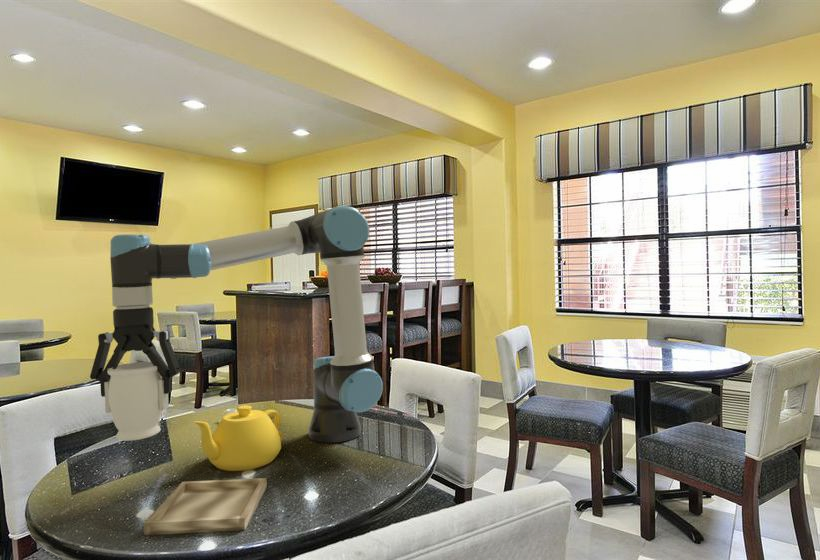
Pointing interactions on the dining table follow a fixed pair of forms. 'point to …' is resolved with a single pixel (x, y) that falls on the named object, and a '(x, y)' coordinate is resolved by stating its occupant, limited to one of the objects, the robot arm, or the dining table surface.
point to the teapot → (242, 439)
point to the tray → (207, 507)
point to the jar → (135, 400)
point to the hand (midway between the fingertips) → (137, 409)
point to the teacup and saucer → (230, 411)
